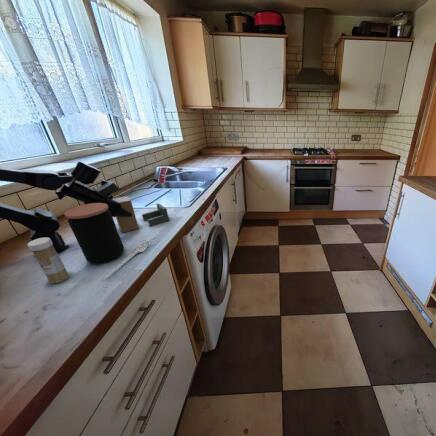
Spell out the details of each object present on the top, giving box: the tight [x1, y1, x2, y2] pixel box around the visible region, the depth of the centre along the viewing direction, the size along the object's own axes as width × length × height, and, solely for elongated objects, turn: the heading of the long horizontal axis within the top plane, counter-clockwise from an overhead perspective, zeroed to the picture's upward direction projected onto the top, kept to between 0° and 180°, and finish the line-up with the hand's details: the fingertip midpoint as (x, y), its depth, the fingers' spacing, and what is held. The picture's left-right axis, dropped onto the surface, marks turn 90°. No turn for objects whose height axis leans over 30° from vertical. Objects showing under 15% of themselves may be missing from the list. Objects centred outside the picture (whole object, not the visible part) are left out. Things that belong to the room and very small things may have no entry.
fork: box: [104, 239, 150, 279], centre depth 77 cm, size 3×20×2 cm, turn 177°
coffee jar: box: [63, 203, 125, 265], centre depth 75 cm, size 11×11×18 cm
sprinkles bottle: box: [26, 237, 70, 284], centre depth 66 cm, size 5×5×13 cm
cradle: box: [141, 202, 170, 227], centre depth 103 cm, size 8×9×6 cm
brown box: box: [110, 195, 140, 234], centre depth 95 cm, size 6×6×13 cm
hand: (128, 212), depth 96 cm, fingers open, 9 cm apart
